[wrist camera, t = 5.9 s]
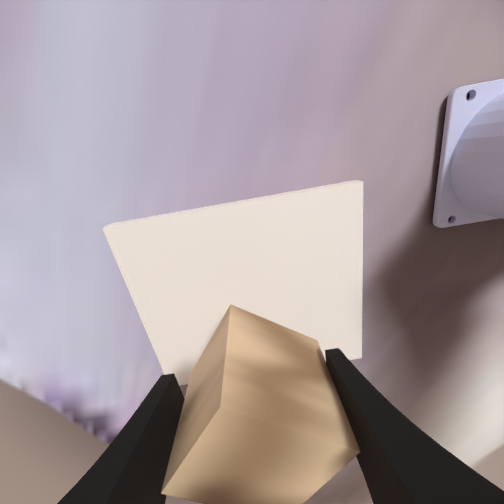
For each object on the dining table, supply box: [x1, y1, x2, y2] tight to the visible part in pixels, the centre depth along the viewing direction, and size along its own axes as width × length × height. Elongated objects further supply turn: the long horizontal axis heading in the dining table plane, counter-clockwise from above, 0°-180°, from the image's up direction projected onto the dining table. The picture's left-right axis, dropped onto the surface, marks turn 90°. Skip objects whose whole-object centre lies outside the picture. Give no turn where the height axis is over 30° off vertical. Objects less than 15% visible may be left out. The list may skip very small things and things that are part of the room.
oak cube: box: [161, 304, 360, 504], centre depth 10 cm, size 5×5×5 cm
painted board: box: [103, 180, 363, 386], centre depth 17 cm, size 16×14×1 cm
